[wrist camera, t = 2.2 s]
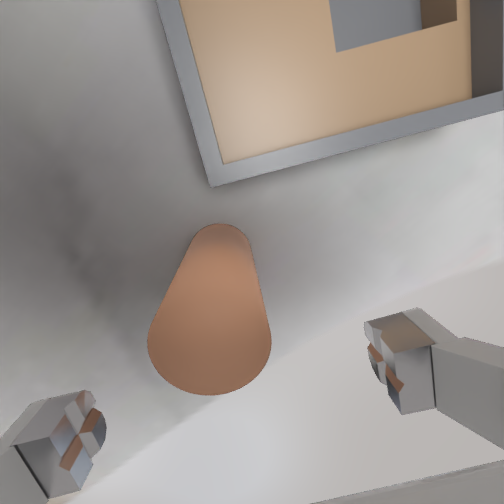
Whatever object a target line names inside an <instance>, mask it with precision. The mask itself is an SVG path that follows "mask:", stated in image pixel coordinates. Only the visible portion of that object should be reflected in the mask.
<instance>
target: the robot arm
mask: <svg viewBox="0 0 504 504" xmlns="http://www.w3.org/2000/svg"><path fill="white" fill-rule="evenodd" d="M364 330H365V335H366V337H367V338H368V340H369V341H370V345H369V346H368V354H369V359H370V362H371V365H372V368H373V370H374V372H375V374H376V376H377V378H378V379H379V381H380V382H381V383H383V384H385V385H387V388H388V395H389V396H390V398H391V399H392V401H393V402H394V404H395V405H396V407H397V408H398V410H399V411H400V413H401V415H405V414H410V413H414V412H419V411H424V410H429V409H434V408H437V410H438V411H440V412H441V413H443V414H445V415H446V416H448V417H450V418H451V419H453V420H455V421H456V422H458V423H460V424H462V425H463V426H465V427H467V428H469V429H470V430H472V431H473V432H475V433H477V434H479V435H480V436H482V437H484V438H485V439H487V440H488V441H490V442H492V443H493V444H495V445H497V446H498V447H500V448H502V449H504V347H500V346H496V345H493V344H489V343H485V342H481V341H478V340H474V339H470V338H466V337H464V338H458V337H456V336H455V335H454V334H453V333H451V332H450V331H449V330H447V329H446V328H445V327H444V326H442V325H441V324H440V323H439V322H437V321H436V320H435V319H433V318H432V317H431V316H430V315H428V314H427V313H426V312H424V311H423V310H422V309H420V308H413V309H410V310H406V311H403V312H400V313H397V314H393V315H389V316H386V317H382V318H378V319H374V320H370V321H366V322H364ZM95 401H96V400H95V399H94V397H93V395H92V393H91V392H90V391H86V390H83V391H79V392H74V393H70V394H65V395H61V396H56V397H53V398H47V399H43V400H39V401H36V402H34V403H32V404H30V405H29V406H28V408H27V409H26V410H25V411H24V412H23V413H22V414H21V415H20V417H19V418H18V419H17V420H16V421H15V422H14V423H13V425H12V426H11V427H10V428H9V429H8V430H7V431H6V433H5V434H4V435H3V436H2V437H1V438H0V504H46V503H47V502H48V499H50V498H54V497H58V496H61V495H65V494H69V493H73V492H76V491H80V490H81V488H82V486H83V484H84V482H85V480H86V478H87V476H88V474H89V472H90V470H91V468H92V466H93V463H92V457H93V456H94V455H95V454H96V453H97V452H98V451H99V450H100V449H101V447H102V445H103V443H104V441H105V436H106V429H107V427H106V422H105V418H104V416H103V414H102V413H101V412H100V411H98V410H96V409H95V408H94V405H95ZM311 504H504V460H501V461H497V462H492V463H488V464H483V465H479V466H474V467H470V468H466V469H461V470H457V471H452V472H448V473H444V474H439V475H435V476H430V477H426V478H422V479H417V480H413V481H409V482H404V483H400V484H395V485H391V486H386V487H382V488H377V489H373V490H369V491H364V492H360V493H356V494H351V495H347V496H342V497H338V498H334V499H329V500H324V501H320V502H316V503H311Z"/></svg>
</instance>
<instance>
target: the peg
mask: <svg viewBox="0 0 504 504" xmlns="http://www.w3.org/2000/svg"><path fill="white" fill-rule="evenodd" d="M147 341H148V352H149V356H150V359H151V361H152V363H153V365H154V367H155V368H156V370H157V371H158V373H159V374H160V375H161V376H162V377H163V378H164V379H165V380H166V381H168V382H169V383H170V384H172V385H173V386H175V387H177V388H179V389H181V390H183V391H186V392H189V393H193V394H198V395H220V394H225V393H229V392H232V391H235V390H237V389H240V388H242V387H243V386H245V385H247V384H248V383H249V382H251V381H252V380H253V379H254V378H255V377H256V376H257V375H258V374H259V373H260V372H261V371H262V369H263V368H264V366H265V364H266V363H267V360H268V358H269V355H270V351H271V333H270V328H269V324H268V319H267V315H266V311H265V307H264V302H263V298H262V294H261V289H260V285H259V281H258V277H257V272H256V268H255V264H254V259H253V255H252V251H251V247H250V244H249V241H248V239H247V238H246V236H245V235H244V234H243V233H242V232H241V231H240V230H239V229H237V228H235V227H233V226H231V225H228V224H212V225H209V226H206V227H204V228H203V229H201V230H200V231H199V232H198V233H197V234H196V235H195V236H194V238H193V239H192V241H191V243H190V246H189V248H188V250H187V252H186V254H185V256H184V258H183V260H182V262H181V264H180V266H179V268H178V270H177V272H176V274H175V276H174V278H173V280H172V282H171V284H170V286H169V288H168V291H167V293H166V295H165V297H164V299H163V301H162V303H161V305H160V307H159V309H158V311H157V313H156V315H155V317H154V319H153V321H152V323H151V326H150V329H149V332H148V340H147Z"/></svg>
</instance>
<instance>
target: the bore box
mask: <svg viewBox="0 0 504 504" xmlns="http://www.w3.org/2000/svg"><path fill="white" fill-rule="evenodd" d="M156 3H157V6H158V10H159V13H160V17H161V20H162V24H163V27H164V30H165V34H166V37H167V41H168V44H169V48H170V51H171V54H172V58H173V61H174V65H175V68H176V72H177V75H178V79H179V82H180V85H181V89H182V92H183V96H184V99H185V103H186V106H187V109H188V113H189V116H190V120H191V123H192V127H193V130H194V133H195V137H196V140H197V144H198V147H199V151H200V154H201V158H202V161H203V164H204V168H205V171H206V175H207V178H208V182H209V185H210V188H212V187H216V186H220V185H224V184H227V183H231V182H235V181H239V180H242V179H246V178H250V177H254V176H257V175H261V174H265V173H269V172H273V171H276V170H280V169H284V168H288V167H291V166H295V165H299V164H303V163H306V162H310V161H314V160H318V159H321V158H325V157H329V156H333V155H337V154H340V153H344V152H348V151H352V150H355V149H359V148H363V147H367V146H370V145H374V144H378V143H382V142H385V141H389V140H393V139H397V138H401V137H404V136H408V135H412V134H416V133H419V132H423V131H427V130H431V129H434V128H438V127H442V126H446V125H450V124H453V123H457V122H461V121H465V120H468V119H472V118H476V117H480V116H483V115H487V114H491V113H495V112H498V111H502V110H504V0H156Z"/></svg>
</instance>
